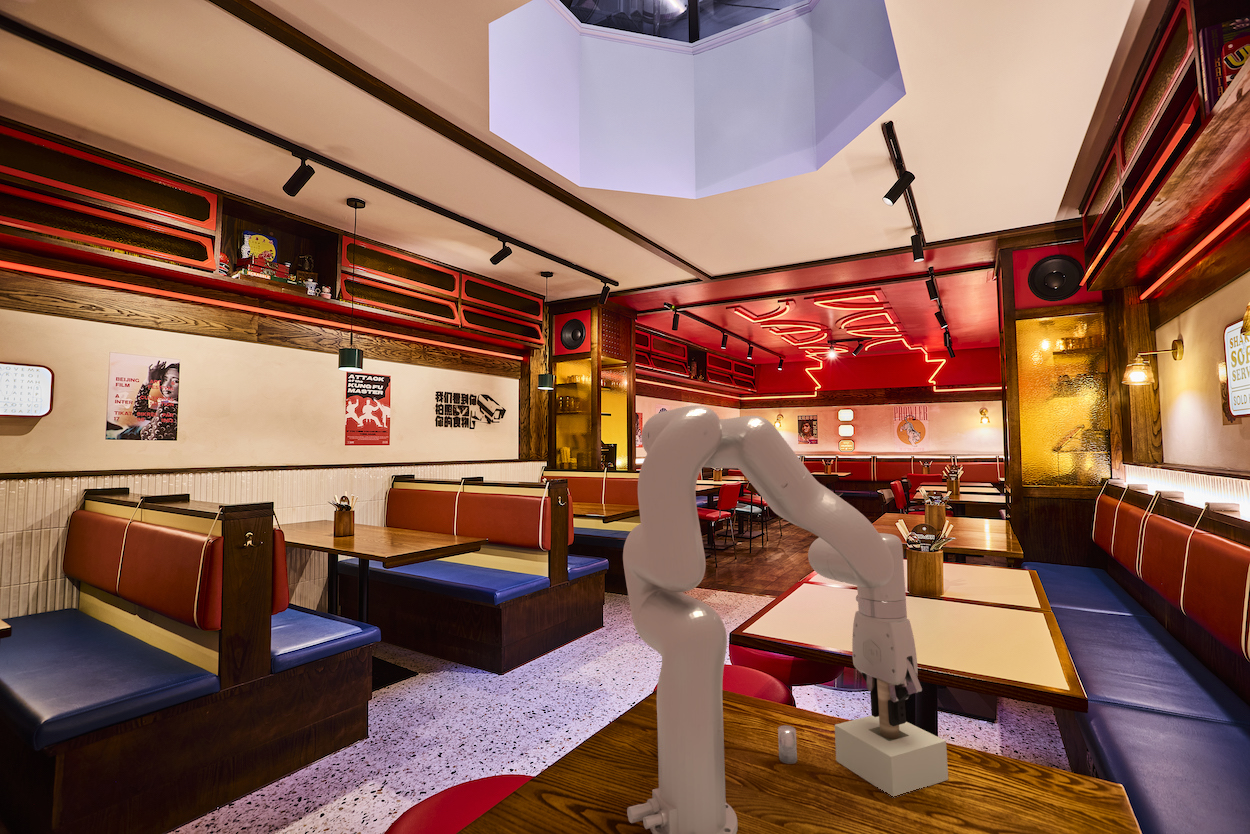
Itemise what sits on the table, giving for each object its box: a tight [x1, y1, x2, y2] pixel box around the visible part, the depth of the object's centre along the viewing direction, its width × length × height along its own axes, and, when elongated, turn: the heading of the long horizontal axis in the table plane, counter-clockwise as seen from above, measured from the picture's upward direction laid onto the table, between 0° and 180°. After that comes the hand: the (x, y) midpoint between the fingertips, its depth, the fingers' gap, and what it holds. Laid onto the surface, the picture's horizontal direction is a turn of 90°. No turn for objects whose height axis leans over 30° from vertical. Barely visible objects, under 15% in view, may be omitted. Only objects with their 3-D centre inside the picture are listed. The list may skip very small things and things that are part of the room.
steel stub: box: [777, 724, 798, 765], centre depth 100 cm, size 3×3×5 cm
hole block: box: [834, 715, 949, 798], centre depth 96 cm, size 12×12×6 cm
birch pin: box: [877, 679, 900, 739], centre depth 97 cm, size 3×3×12 cm
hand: (888, 718), depth 96 cm, fingers closed on birch pin, 3 cm apart
